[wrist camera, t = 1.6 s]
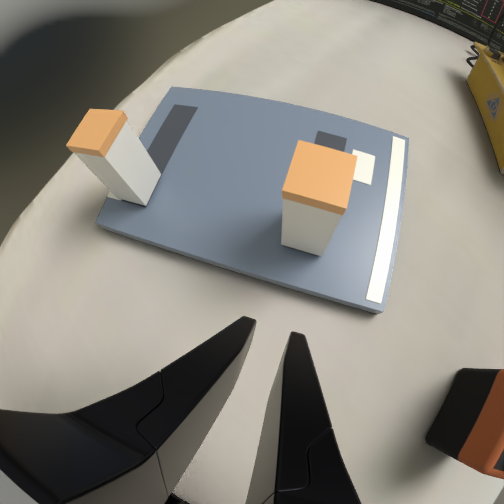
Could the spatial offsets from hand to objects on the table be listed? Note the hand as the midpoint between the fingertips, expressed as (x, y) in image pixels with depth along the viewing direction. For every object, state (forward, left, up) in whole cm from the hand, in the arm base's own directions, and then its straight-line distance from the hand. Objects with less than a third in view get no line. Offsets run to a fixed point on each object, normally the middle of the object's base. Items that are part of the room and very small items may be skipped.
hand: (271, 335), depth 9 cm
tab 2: (+8, +2, -12) cm, 14 cm away
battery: (+2, -17, -14) cm, 22 cm away
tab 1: (+4, +16, -12) cm, 20 cm away
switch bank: (+10, +8, -14) cm, 19 cm away
